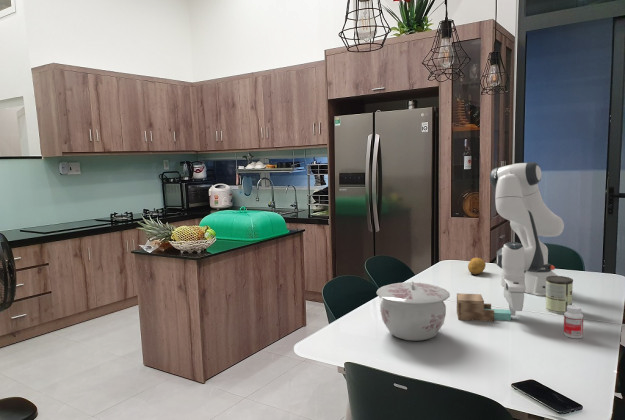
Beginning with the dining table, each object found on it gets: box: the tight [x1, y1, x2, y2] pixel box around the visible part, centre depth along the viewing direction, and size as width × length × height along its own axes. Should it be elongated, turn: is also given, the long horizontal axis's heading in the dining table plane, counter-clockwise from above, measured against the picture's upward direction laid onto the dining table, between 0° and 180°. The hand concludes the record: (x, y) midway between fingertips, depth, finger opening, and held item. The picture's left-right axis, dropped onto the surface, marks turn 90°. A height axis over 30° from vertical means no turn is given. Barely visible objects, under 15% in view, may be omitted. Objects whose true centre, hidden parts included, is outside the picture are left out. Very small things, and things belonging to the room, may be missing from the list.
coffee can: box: [545, 275, 574, 315], centre depth 196 cm, size 10×10×14 cm
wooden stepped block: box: [456, 292, 495, 322], centre depth 191 cm, size 14×10×8 cm
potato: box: [467, 257, 486, 275], centre depth 263 cm, size 10×13×9 cm
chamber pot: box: [376, 281, 451, 342], centre depth 173 cm, size 28×28×21 cm
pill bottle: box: [563, 304, 584, 339], centre depth 168 cm, size 6×6×11 cm
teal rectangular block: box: [484, 308, 512, 321], centre depth 190 cm, size 12×5×3 cm, turn 77°
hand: (512, 314), depth 188 cm, fingers closed
